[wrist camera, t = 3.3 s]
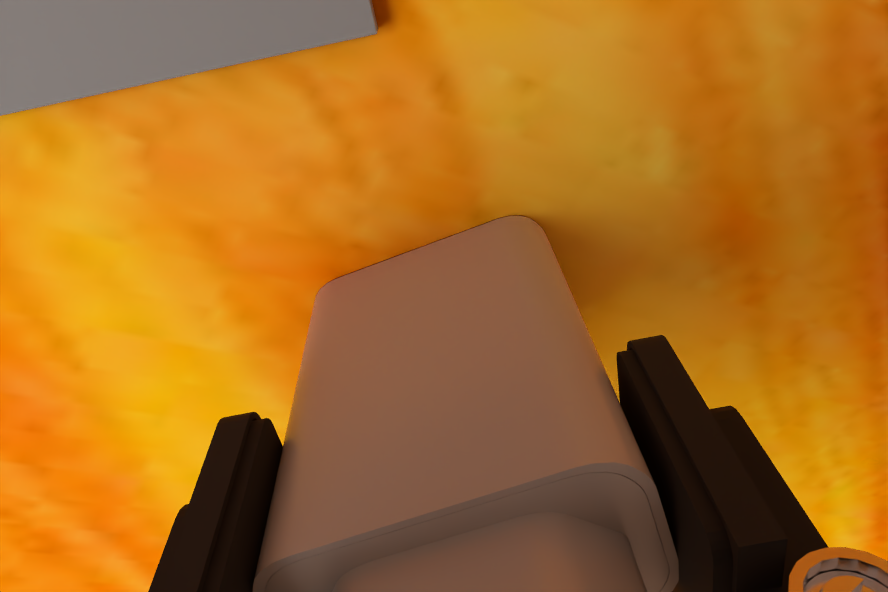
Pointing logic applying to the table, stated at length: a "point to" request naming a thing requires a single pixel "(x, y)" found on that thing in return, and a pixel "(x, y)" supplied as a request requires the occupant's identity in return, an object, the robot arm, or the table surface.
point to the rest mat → (153, 41)
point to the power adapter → (460, 436)
